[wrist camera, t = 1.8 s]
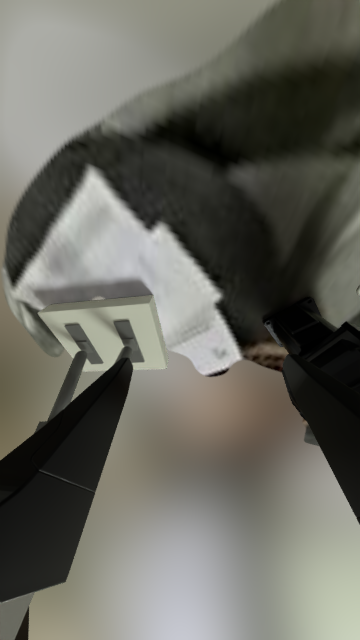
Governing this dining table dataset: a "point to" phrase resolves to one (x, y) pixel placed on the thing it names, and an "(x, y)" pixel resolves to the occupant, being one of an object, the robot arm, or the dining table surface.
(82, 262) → the dining table surface
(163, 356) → the breaker panel
